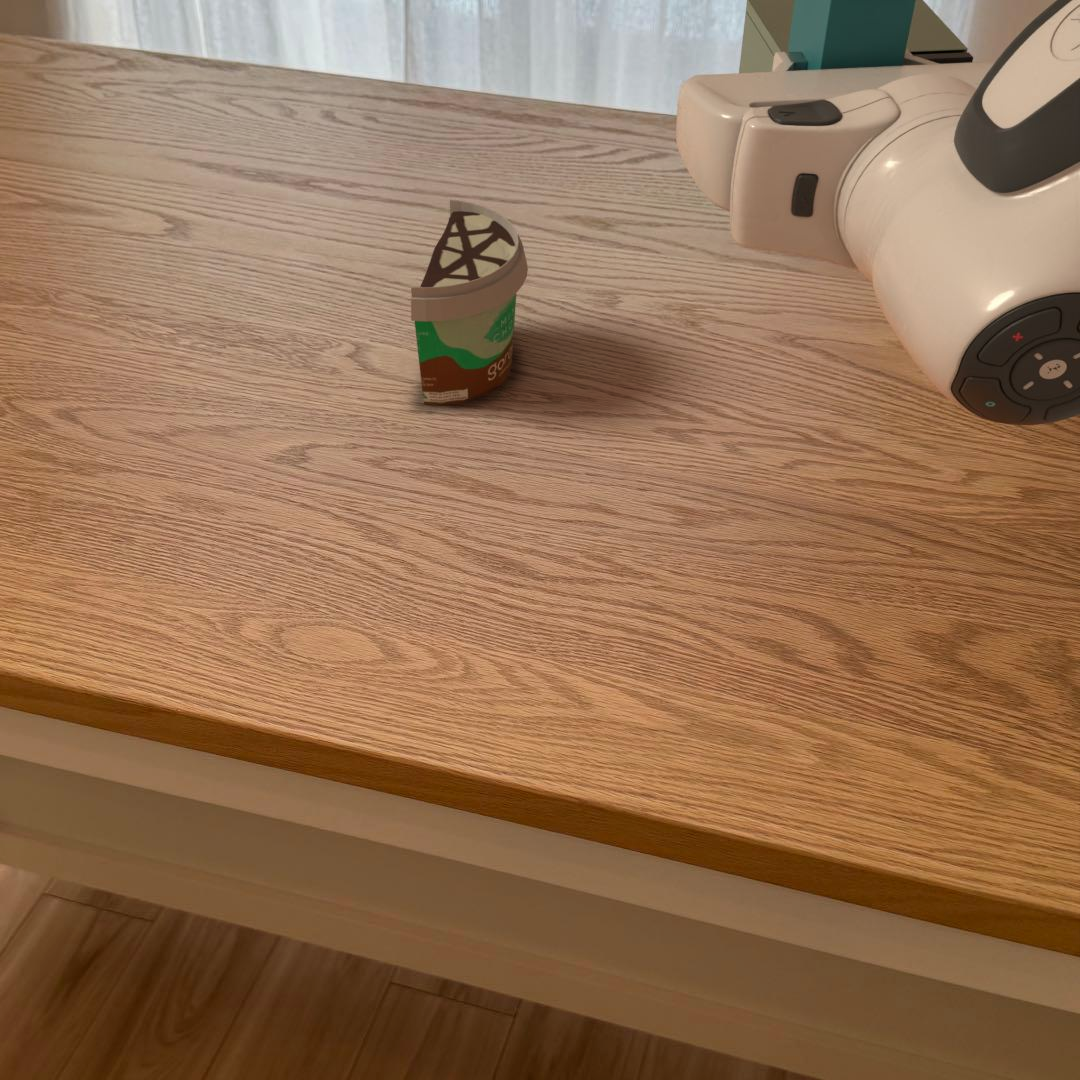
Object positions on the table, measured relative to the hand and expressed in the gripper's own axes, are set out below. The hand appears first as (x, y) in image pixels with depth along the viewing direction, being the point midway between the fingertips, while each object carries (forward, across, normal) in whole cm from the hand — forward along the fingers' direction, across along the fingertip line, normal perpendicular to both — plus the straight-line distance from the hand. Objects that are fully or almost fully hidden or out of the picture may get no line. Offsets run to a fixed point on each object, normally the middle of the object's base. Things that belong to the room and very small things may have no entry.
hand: (835, 62), depth 69 cm
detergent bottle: (-1, 0, +6) cm, 7 cm away
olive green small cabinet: (+28, -11, +22) cm, 38 cm away
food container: (+4, +20, +23) cm, 31 cm away
